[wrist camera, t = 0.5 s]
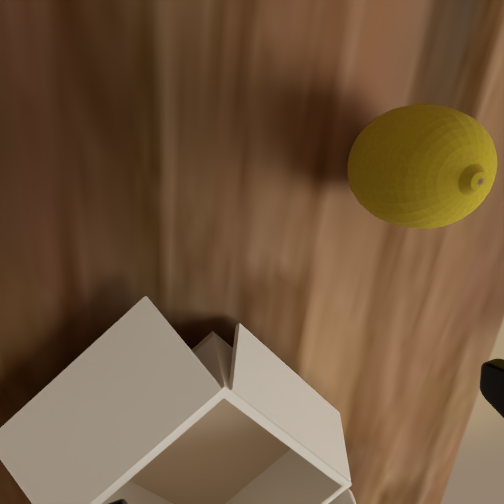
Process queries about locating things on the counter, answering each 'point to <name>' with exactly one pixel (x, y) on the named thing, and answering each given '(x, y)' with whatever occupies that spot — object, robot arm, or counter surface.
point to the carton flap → (344, 498)
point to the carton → (176, 425)
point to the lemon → (422, 166)
